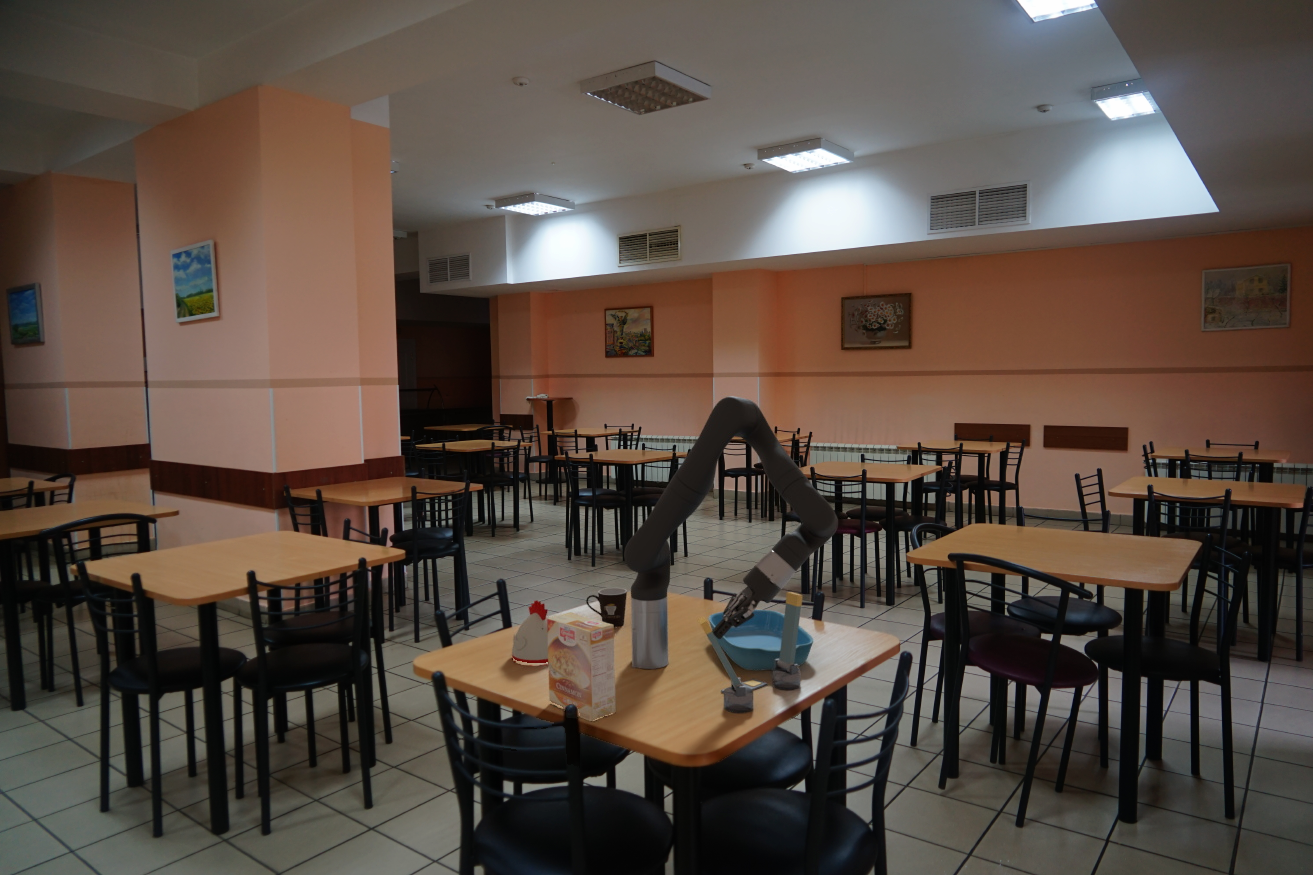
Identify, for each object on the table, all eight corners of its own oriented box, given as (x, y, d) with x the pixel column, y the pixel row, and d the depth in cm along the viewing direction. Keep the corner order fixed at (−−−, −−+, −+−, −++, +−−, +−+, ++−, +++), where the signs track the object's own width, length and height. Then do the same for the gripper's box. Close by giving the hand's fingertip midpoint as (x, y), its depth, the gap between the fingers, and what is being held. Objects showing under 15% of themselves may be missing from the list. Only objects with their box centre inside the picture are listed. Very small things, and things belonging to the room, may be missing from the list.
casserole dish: (826, 672, 193) (826, 643, 193) (738, 680, 189) (737, 650, 189) (775, 629, 230) (775, 605, 229) (700, 635, 225) (700, 610, 225)
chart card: (734, 697, 178) (734, 694, 178) (720, 691, 181) (720, 689, 181) (767, 684, 185) (767, 682, 185) (753, 679, 189) (753, 677, 189)
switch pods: (740, 715, 168) (740, 689, 167) (717, 707, 172) (717, 682, 172) (806, 684, 185) (805, 661, 184) (783, 678, 189) (783, 655, 189)
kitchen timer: (529, 670, 199) (527, 611, 198) (502, 656, 209) (500, 600, 209) (575, 657, 208) (574, 601, 207) (547, 645, 218) (546, 591, 218)
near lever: (742, 683, 174) (704, 615, 173) (746, 690, 170) (707, 620, 169) (734, 688, 174) (696, 619, 172) (738, 695, 170) (699, 625, 168)
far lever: (783, 666, 187) (792, 591, 187) (794, 671, 183) (803, 595, 184) (776, 666, 186) (785, 591, 186) (788, 671, 182) (797, 595, 183)
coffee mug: (633, 622, 239) (632, 589, 238) (616, 629, 232) (616, 596, 231) (601, 617, 245) (601, 585, 245) (584, 624, 238) (584, 591, 237)
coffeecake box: (548, 704, 176) (545, 617, 175) (573, 695, 181) (571, 611, 180) (591, 723, 165) (589, 630, 164) (617, 713, 170) (614, 623, 169)
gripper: (750, 558, 178) (697, 616, 177) (764, 571, 165) (707, 633, 164) (774, 580, 179) (722, 637, 178) (789, 594, 165) (733, 656, 165)
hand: (715, 635), depth 171 cm, fingers closed
